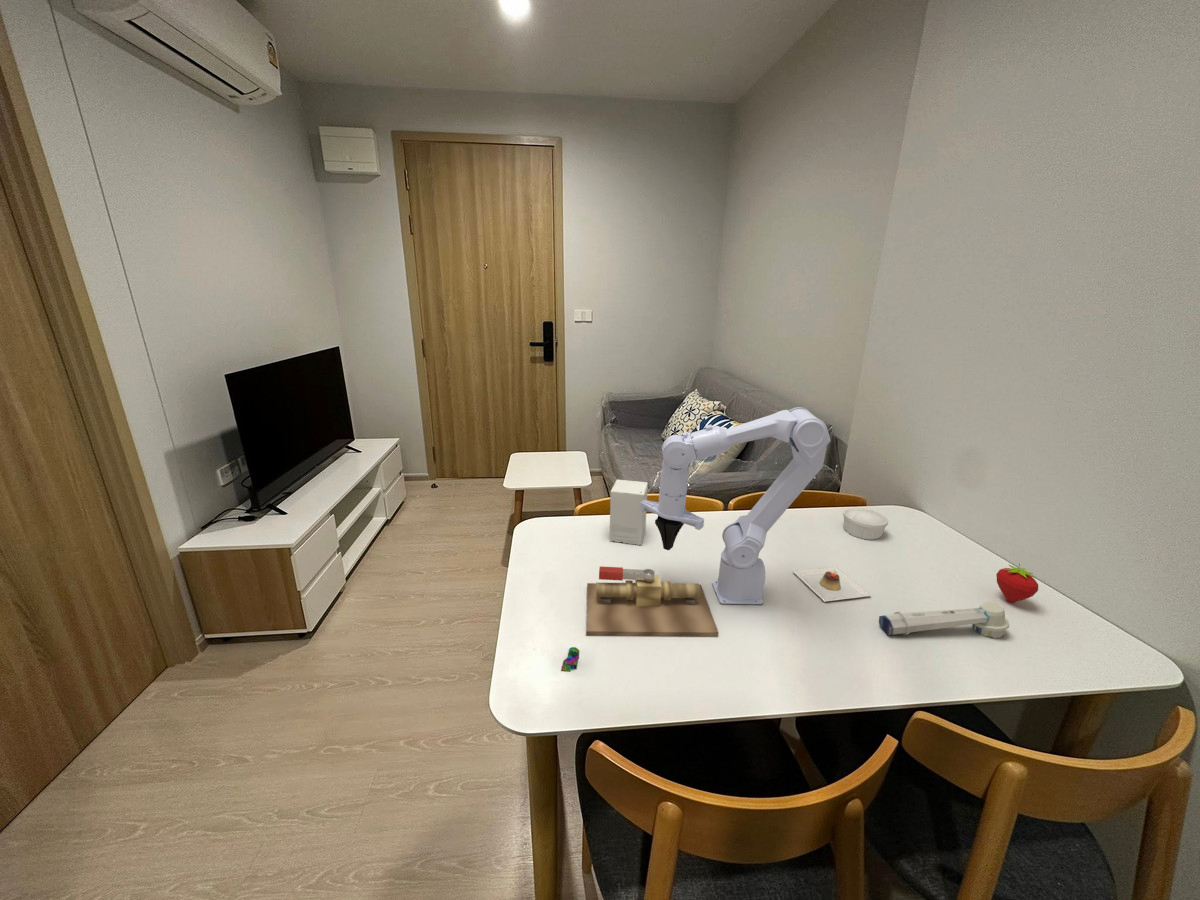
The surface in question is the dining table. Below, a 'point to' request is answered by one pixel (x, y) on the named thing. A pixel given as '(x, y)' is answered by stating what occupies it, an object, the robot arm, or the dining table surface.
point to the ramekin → (864, 523)
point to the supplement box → (627, 511)
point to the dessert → (832, 581)
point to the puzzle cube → (571, 660)
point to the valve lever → (625, 574)
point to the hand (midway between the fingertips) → (668, 547)
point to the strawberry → (1016, 584)
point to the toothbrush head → (948, 620)
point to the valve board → (648, 609)
